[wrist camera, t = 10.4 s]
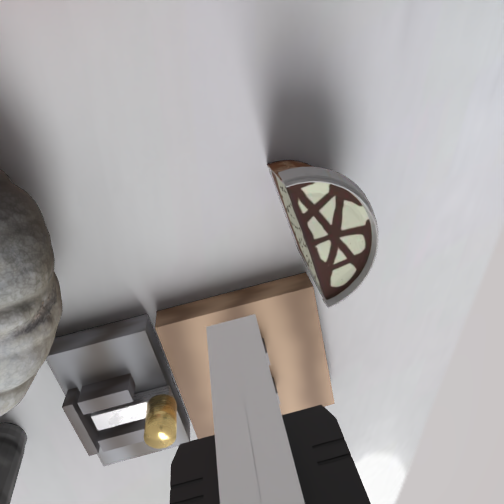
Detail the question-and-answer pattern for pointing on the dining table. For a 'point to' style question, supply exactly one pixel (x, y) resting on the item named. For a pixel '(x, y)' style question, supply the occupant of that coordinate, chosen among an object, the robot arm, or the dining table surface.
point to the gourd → (24, 293)
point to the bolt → (145, 416)
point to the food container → (328, 226)
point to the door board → (188, 363)
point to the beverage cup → (10, 458)
